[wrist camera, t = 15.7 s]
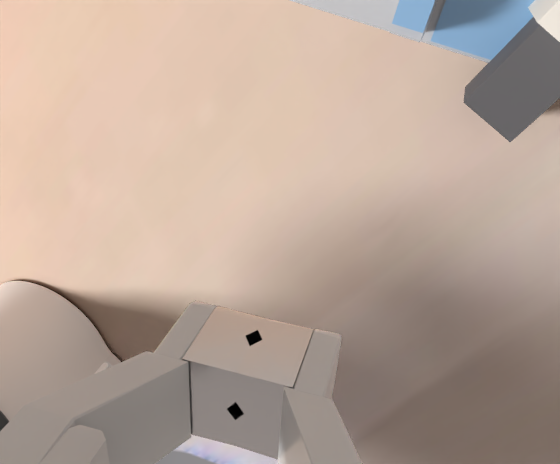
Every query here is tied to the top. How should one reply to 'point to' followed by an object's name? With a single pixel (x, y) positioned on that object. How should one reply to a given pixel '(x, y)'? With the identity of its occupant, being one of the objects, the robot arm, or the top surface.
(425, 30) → the slider rail
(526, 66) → the grey post with collar
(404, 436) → the top surface
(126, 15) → the top surface
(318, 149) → the top surface
